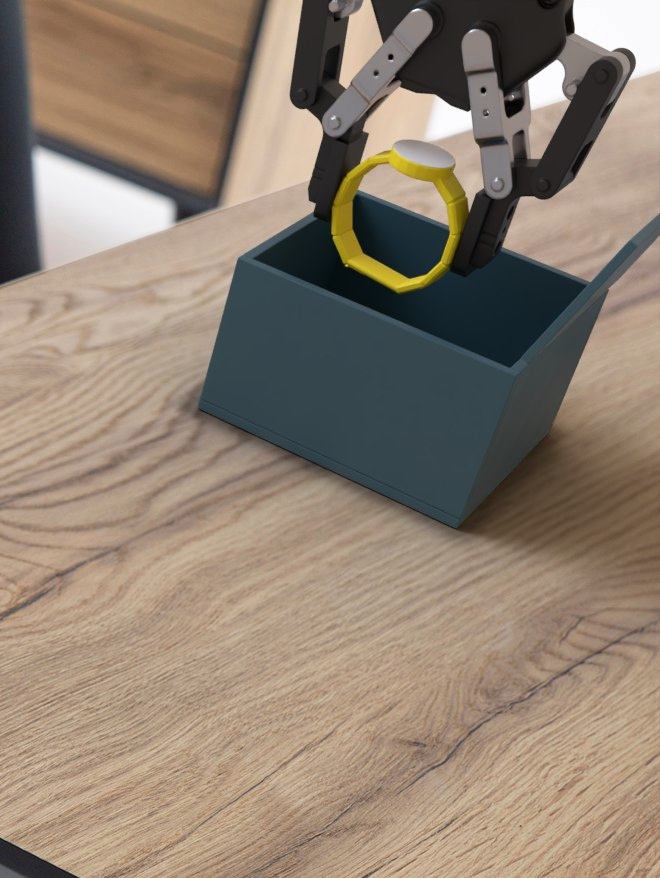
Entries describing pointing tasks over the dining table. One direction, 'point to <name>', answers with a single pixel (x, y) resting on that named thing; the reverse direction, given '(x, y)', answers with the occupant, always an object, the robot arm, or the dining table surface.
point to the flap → (598, 285)
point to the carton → (395, 358)
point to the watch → (417, 164)
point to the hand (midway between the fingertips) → (395, 241)
